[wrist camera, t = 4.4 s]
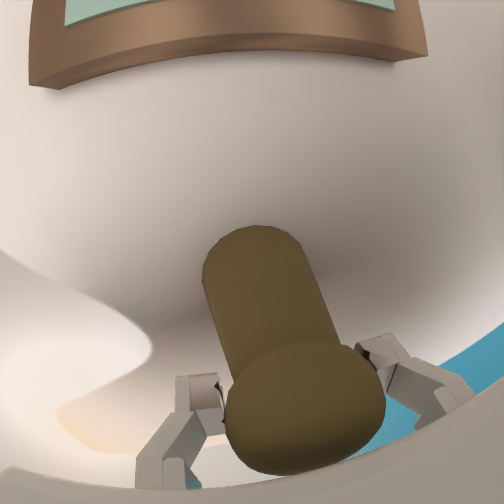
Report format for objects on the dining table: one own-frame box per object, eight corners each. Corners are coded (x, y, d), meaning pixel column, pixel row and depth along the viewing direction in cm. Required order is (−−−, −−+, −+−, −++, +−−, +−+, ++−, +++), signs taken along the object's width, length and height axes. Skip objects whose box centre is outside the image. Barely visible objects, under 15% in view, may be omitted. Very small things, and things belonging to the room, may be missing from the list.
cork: (324, 278, 17) (427, 425, 7) (246, 334, 18) (288, 498, 8) (267, 202, 15) (385, 358, 5) (179, 273, 16) (168, 470, 6)
